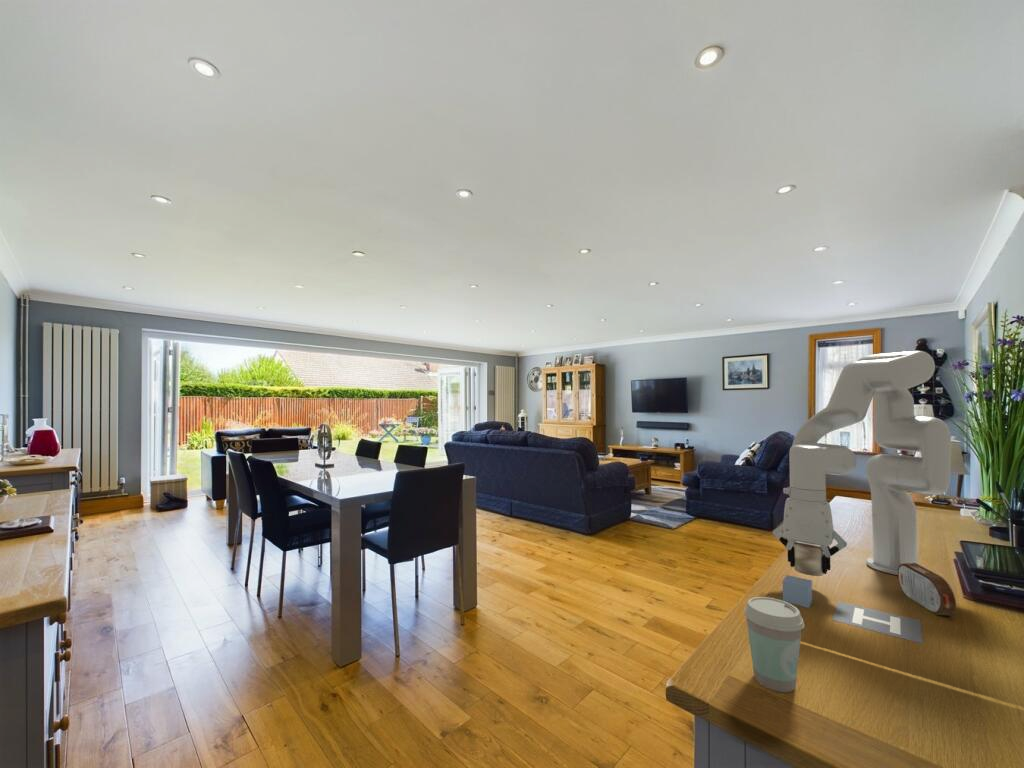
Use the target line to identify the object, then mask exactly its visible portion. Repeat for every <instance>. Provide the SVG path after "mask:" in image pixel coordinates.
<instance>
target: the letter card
mask: <svg viewBox="0 0 1024 768" xmlns="http://www.w3.org/2000/svg"><path fill="white" fill-rule="evenodd" d="M832 621H834V622H838V623H840V624H841V623H842V624H846V625H850V626H853V627H857V628H861V629H864V630H869V631H873V632H876V633H879V634H883V635H886V636H887V635H888V636H892V637H895V638H900V639H903V640H907V641H911V642H915V643H918V644H924V641H923V632H922V622H921V619H919V620H918V619H915V618H910V617H907V616H902V615H899V614H894V613H890V612H885V611H883V610H882V611H881V610H877V609H873V608H868V607H864V606H860V605H856V604H852V603H848V602H843V601H839V600H838V601H837V603H836V606H835V609H834V612H833V616H832Z"/></svg>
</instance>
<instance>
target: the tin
mask: <svg viewBox="0 0 1024 768" xmlns="http://www.w3.org/2000/svg"><path fill="white" fill-rule="evenodd" d="M897 570H898V575H897V579H898V586H899V587H900V590H901V591H902V593H903V595H905V597H907V598H908V599H910V600H912V601H913V602H915V603H916V604H918V605H919V606H921V607H923V608H924V609H926V610H927V611H929V612H930V613H933V614H934V615H936V616H948V617H952V616H953V615H954V614H955V613H956V610H957V602H956V597H955V593H954V592H953V590H952V587H951V585H950V584H949V583H948V581H946V579H945V578H944V577H942V576H941V575H939V574H937V573H935V572H934V571H932V570H930V569H928V568H925V567H924V566H922V565H920V564H919V563H918V564H916V563H904V564H900V565H899V566H898V569H897Z"/></svg>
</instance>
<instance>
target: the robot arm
mask: <svg viewBox="0 0 1024 768" xmlns="http://www.w3.org/2000/svg"><path fill="white" fill-rule="evenodd" d="M935 371H936V364H935V360H934V358H933V357H932V356H931V355H930V354H929V353H928V352H926V351H923V350H912V351H900V352H899V351H898V352H886V353H875V354H870V355H865V356H862V357H860V358H859V359H857V360H856V361H853V362H849V363H848V364H846V365H845V366H844V367H843V368H842V370H841V372H840V375H839V376H838V379H837V381H836V384H835V386H834V389H833V391H832V394H831V396H830V398H829V400H828V404H827V405H826V406H825V407H824V408H823V409H821V410H820V411H818V412H816V413H815V414H814V415H812V416H810V418H809V419H807V420H806V421H805V422H804V423H803V424H802V425H801V426H800V428H799V429H798V431H796V435H795V437H794V439H793V442H792V444H791V446H790V448H789V486H788V487H783V489H782V491H783V494H786V495H787V496H789V497H787V498H786V499H785V504H784V510H783V511H784V512H783V523H782V524H780V525H779V526H778V527H776V528H775V529H773V530H772V534H773V535H774V536H775V537H776V538H777V539H778V540H779V541H780V543H781V544H782V545H783V546H784V547H785V549H786V550H787V562H789V564H790V565H789V566H790V567H791V568H794V542H804V543H809V544H815V545H820V546H821V548H822V550H823V556H822V573H823V574H824V575H827V573H828V571H831V557H832V556H833V555H835V554H836V553H837V554H838V552H839V551H841V550H843V549H844V548H846V547H847V545H848V542H847V541H845V539H843V537H842V536H841V535H839V533H838V532H837V531H836V530H834V522H833V514H832V509H831V504H830V502H827V478H826V477H827V476H826V475H833V476H835V475H836V476H845V475H847V474H850V473H851V472H853V471H854V469H855V468H856V466H857V457H856V454H855V453H854V452H853V451H852V449H850V448H849V447H846V446H843V445H839V444H829V443H820V442H819V441H820V440H821V439H822V438H823V437H824V436H826V435H828V434H830V433H832V432H833V431H836V430H840V429H843V428H846V427H849V426H852V425H855V424H858V423H860V422H862V421H863V420H864V419H865V418H866V416H867V413H868V410H869V408H870V405H871V402H872V400H874V420H873V421H874V423H873V425H874V428H873V431H874V432H873V433H874V434H873V436H874V440H875V443H876V445H878V446H879V447H880V448H883V449H887V450H897V451H905V452H917V453H918V452H919V453H920V455H921V456H910V455H903V454H890V453H881V454H876V455H873V456H871V457H870V458H869V459H868V460H867V462H866V466H865V469H866V477H867V480H868V483H869V487H870V488H869V489H870V495H871V498H870V499H871V524H872V526H871V527H872V528H871V529H872V557H868V558H866V565H867V566H869V567H870V568H872V569H874V570H876V571H879V572H882V573H887V574H889V575H890V574H891V575H895V576H898V570H897V569H898V566H899V565H900V564H904V563H916V564H919V551H918V550H919V547H918V521H917V520H918V518H917V517H918V516H917V515H918V513H917V507H916V504H915V502H914V500H913V499H912V497H911V496H910V494H909V493H908V492H912V493H916V494H917V493H918V494H923V495H934V496H937V495H938V496H939V495H943V494H945V493H946V492H947V491H948V490H949V488H950V484H951V475H952V473H951V471H952V470H951V469H952V467H951V465H952V436H951V430H950V429H949V426H948V424H947V423H946V422H945V421H944V420H942V419H941V418H937V417H933V416H916V415H915V399H914V397H913V394H912V393H911V392H910V391H909V389H911V388H915V387H917V386H919V385H922V384H924V383H926V382H928V381H929V380H931V378H932V377H933V376H934V373H935ZM782 533H783V534H782ZM834 540H835V542H836V544H835V545H833V546H831V545H832V544H833V541H834ZM830 546H831V547H830Z"/></svg>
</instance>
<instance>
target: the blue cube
mask: <svg viewBox="0 0 1024 768" xmlns="http://www.w3.org/2000/svg"><path fill="white" fill-rule="evenodd" d="M812 581H813V580H812V579H811V580H810V579H807V578H802V577H797V576H795V575H794V576H793V575H789V574H786V575H785V577H784V579H783V580H782V601H785V602H787V603H789V604H791V605H796V606H800V607H804V608H806V609H807V608H808V609H809V608H810V607H811V605H812V603H813V582H812Z"/></svg>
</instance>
